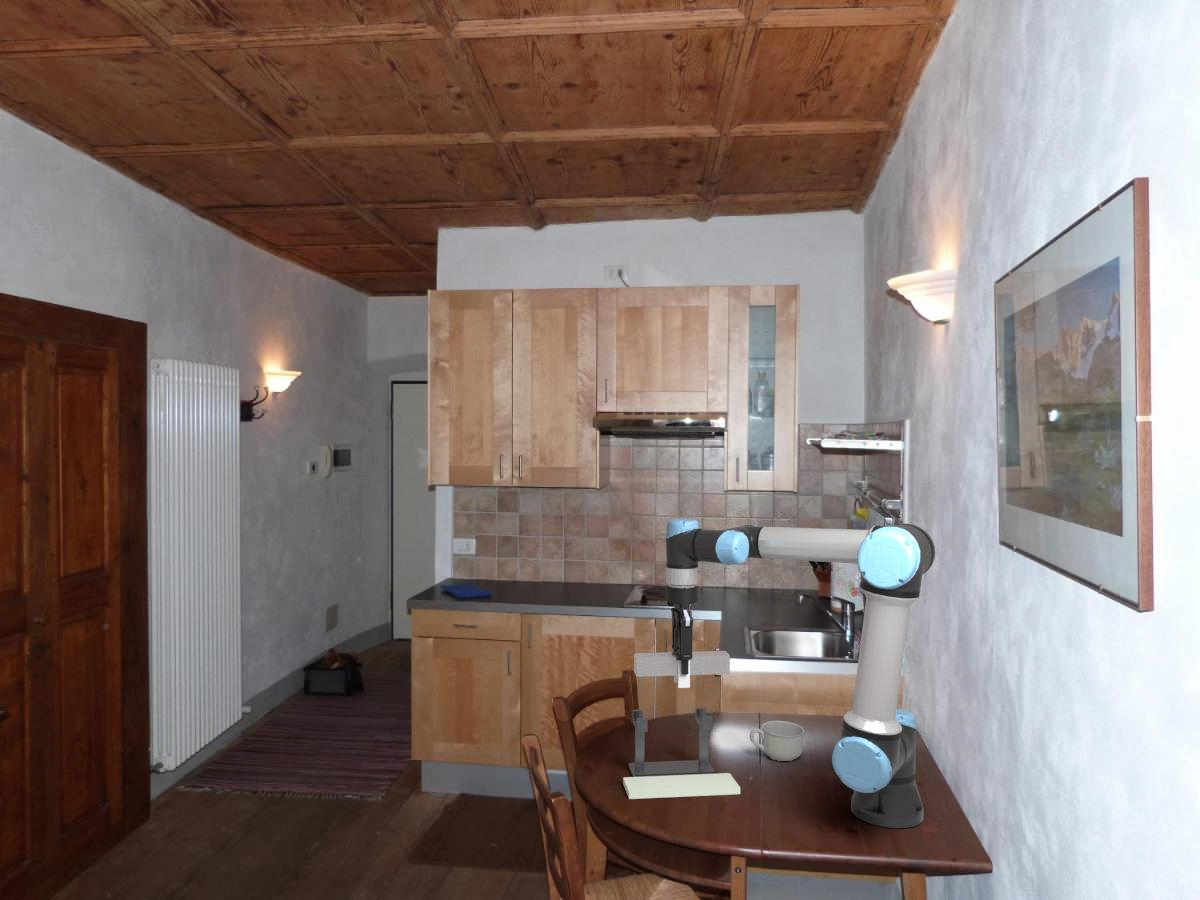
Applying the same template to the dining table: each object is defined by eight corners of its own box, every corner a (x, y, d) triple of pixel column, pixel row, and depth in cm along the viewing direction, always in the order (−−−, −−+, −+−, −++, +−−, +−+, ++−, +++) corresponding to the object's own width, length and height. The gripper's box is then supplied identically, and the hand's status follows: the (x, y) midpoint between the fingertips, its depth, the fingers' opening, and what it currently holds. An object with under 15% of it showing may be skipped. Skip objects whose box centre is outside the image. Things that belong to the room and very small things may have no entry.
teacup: (801, 751, 233) (801, 721, 233) (806, 766, 222) (807, 734, 222) (747, 749, 235) (747, 719, 234) (750, 764, 224) (750, 732, 224)
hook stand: (715, 776, 215) (716, 717, 215) (634, 779, 213) (634, 719, 212) (707, 764, 223) (707, 707, 223) (628, 767, 221) (629, 709, 220)
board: (740, 794, 205) (740, 787, 205) (629, 799, 201) (629, 792, 201) (729, 779, 214) (729, 773, 213) (623, 783, 210) (623, 777, 210)
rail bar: (729, 674, 207) (729, 654, 207) (636, 676, 205) (636, 657, 205) (725, 669, 211) (725, 650, 211) (634, 672, 209) (634, 653, 209)
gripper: (706, 590, 200) (705, 694, 200) (689, 579, 217) (689, 674, 217) (673, 591, 199) (673, 695, 199) (659, 579, 216) (659, 675, 216)
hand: (681, 684), depth 208 cm, fingers closed on rail bar, 4 cm apart
